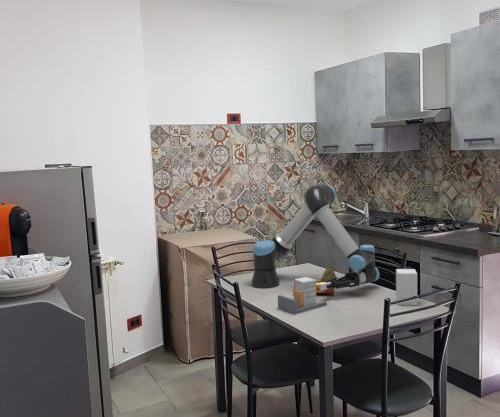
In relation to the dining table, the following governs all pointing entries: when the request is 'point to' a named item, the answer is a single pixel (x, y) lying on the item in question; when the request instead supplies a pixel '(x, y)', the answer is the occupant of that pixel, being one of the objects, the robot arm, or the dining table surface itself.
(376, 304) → the dining table surface
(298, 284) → the supplement box
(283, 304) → the grey l-shaped block
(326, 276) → the rock
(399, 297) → the supplement box
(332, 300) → the dining table surface
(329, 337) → the dining table surface
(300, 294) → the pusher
